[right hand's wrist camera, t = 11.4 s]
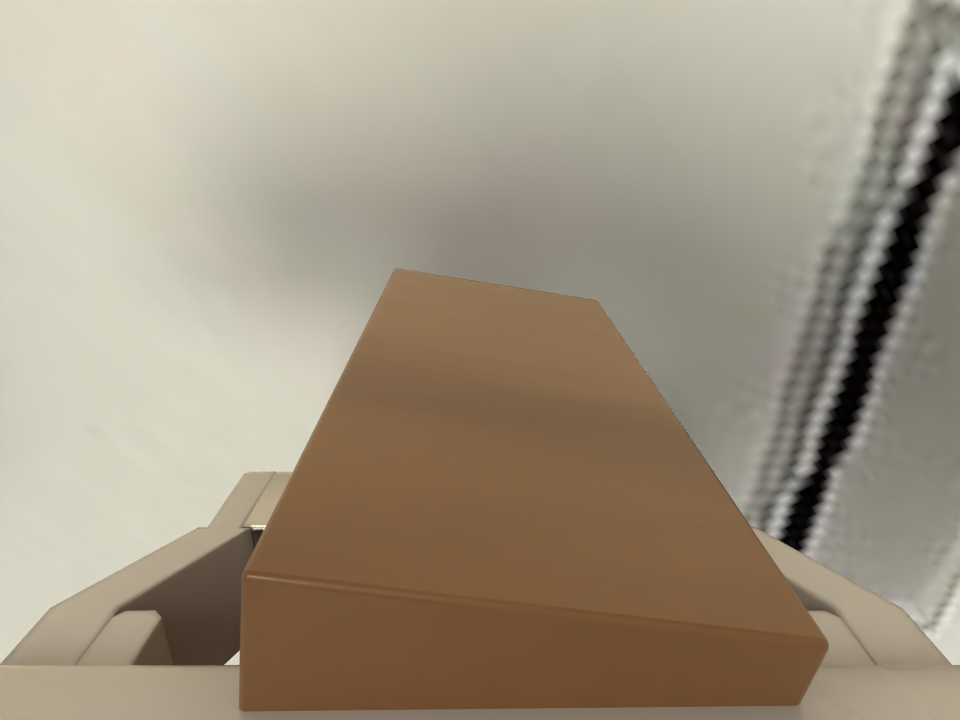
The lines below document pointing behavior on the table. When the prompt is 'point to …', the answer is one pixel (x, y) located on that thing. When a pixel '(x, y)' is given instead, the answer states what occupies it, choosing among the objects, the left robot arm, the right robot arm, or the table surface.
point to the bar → (509, 530)
